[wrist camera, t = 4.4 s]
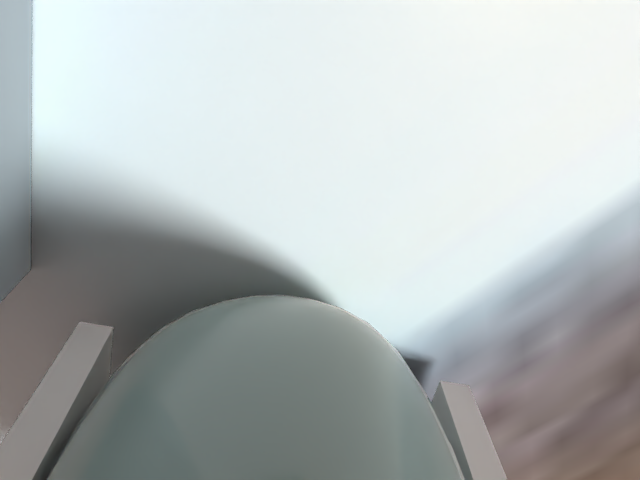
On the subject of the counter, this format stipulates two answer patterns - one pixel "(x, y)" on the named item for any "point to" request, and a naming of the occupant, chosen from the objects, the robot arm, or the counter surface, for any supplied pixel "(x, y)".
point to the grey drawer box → (15, 142)
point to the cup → (261, 403)
